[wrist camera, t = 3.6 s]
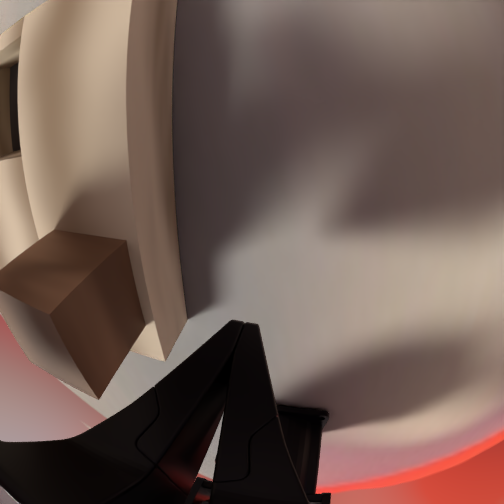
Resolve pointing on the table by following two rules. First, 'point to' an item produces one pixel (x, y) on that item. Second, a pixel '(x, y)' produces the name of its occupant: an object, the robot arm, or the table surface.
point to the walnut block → (73, 307)
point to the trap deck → (95, 142)
